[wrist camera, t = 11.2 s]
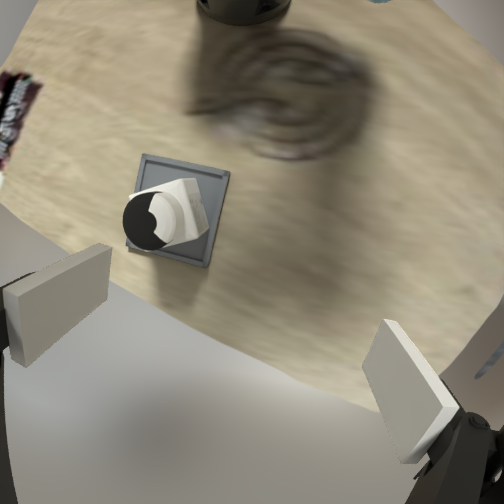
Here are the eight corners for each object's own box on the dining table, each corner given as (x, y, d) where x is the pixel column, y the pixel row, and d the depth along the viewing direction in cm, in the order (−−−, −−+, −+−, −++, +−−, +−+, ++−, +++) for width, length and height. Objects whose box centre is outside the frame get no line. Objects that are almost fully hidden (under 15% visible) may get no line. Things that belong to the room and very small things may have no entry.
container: (162, 241, 47) (126, 264, 34) (148, 192, 45) (107, 199, 32) (210, 228, 46) (187, 248, 33) (196, 177, 44) (167, 178, 32)
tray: (145, 153, 44) (142, 153, 43) (230, 171, 44) (229, 171, 43) (128, 244, 48) (125, 245, 47) (208, 266, 48) (206, 268, 47)
